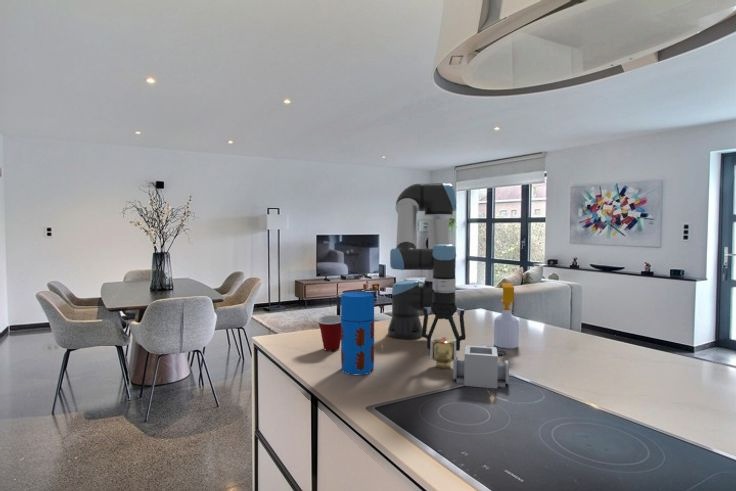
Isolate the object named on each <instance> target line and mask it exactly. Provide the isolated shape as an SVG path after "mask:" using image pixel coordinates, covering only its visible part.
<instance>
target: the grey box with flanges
mask: <svg viewBox="0 0 736 491" xmlns="http://www.w3.org/2000/svg"><path fill="white" fill-rule="evenodd" d="M497 348H498V347H497V346H484V345H483V346H481V345H469V344H468V345H466V344H465V348H464V360H463V359H462V360H459V359H458V356H456V357H454V361H452V363H453V364H452V365H453V367H452V370H453V371H452V377H453V380H456V384H462V385H464V386H465V387H477V388H478V387H479V388H486V389H487V388H488V389H498V388H506V385H509V383H510V363H509V362H510V361H509V360H506V359H505V360H504V362H503V363H500V362H498V360H499V355H498V349H497Z"/></svg>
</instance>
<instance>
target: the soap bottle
mask: <svg viewBox="0 0 736 491" xmlns="http://www.w3.org/2000/svg"><path fill="white" fill-rule="evenodd" d="M500 284H501V287H502V299H501V300H500V302H501V303H503V305H504V307H502V310H501V311H502V312H501V313H500V314H498V316H496V317H495V319H494V323H493V324H494V328H493V329H494V330H493V333H494V334H493V342H494V343H493V344H494V347H496V348H501V349H506V350H507V349H508V350H510V349H511V350H512V349H516V348H518V347H519V346H520V345H519V340H520V338H519V334H520V328H519V327H520V322H519V319H518V318H517V316H515V315H513V314H512V308H511V307H510V305H511V304H512V303H513V304H514V302H515V288H514V285H513V283H511V282H500Z"/></svg>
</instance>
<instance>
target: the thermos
mask: <svg viewBox="0 0 736 491" xmlns="http://www.w3.org/2000/svg"><path fill="white" fill-rule="evenodd" d="M340 316H341V341H340V351H341V352H340V357H341V359H340V360H341V371H342V370H343V371H344V372H346V373H349V374H366V373H369V374H371V373H373V372H372V371H374V370H375V368H374V367H375V296H374V293H373V292H367V291H348V292H347V291H345V292H342V293H341V296H340ZM344 372H343V373H344ZM370 372H371V373H370ZM346 373H345V374H346ZM349 374H348V375H349ZM366 375H367V374H366Z"/></svg>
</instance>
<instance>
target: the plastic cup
mask: <svg viewBox="0 0 736 491" xmlns="http://www.w3.org/2000/svg"><path fill="white" fill-rule="evenodd" d="M316 322H317V323H318V325H319V328H320V334H321V341H322V345H323V349H326V350H336V351H338V350H337V349H339V350H340V348H341V315H338V314H337V315H336V314H332V315H331V314H330V315H323V316H321V317H318V318H317V319H316ZM326 350H325V351H326Z"/></svg>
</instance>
